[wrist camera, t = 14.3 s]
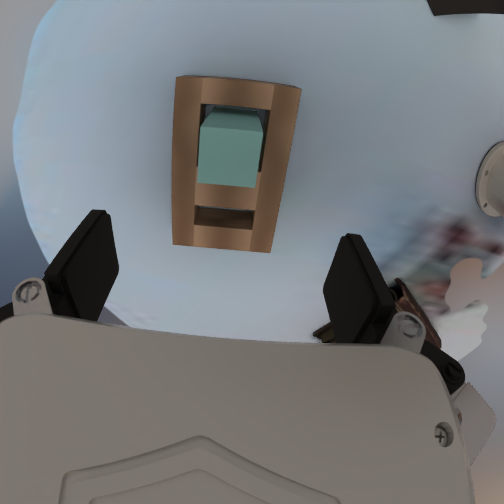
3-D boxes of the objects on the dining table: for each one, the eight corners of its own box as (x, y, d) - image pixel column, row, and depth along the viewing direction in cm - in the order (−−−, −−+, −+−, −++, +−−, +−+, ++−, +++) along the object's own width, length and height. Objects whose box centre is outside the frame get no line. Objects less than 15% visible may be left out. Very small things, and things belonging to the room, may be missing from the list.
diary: (397, 272, 42) (410, 294, 38) (436, 330, 53) (444, 347, 49) (307, 333, 49) (312, 356, 45) (368, 371, 60) (374, 389, 56)
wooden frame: (294, 86, 26) (301, 89, 22) (267, 233, 36) (270, 252, 33) (184, 75, 25) (176, 77, 21) (179, 225, 35) (172, 244, 32)
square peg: (257, 111, 27) (263, 132, 19) (251, 150, 30) (255, 188, 22) (214, 107, 27) (200, 126, 19) (210, 146, 29) (197, 182, 21)
